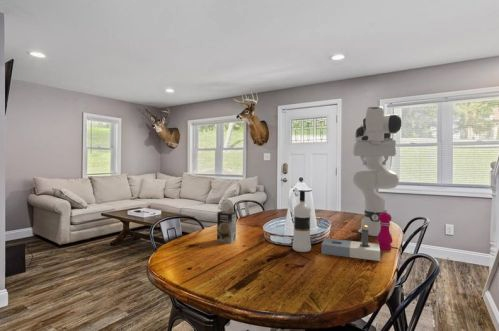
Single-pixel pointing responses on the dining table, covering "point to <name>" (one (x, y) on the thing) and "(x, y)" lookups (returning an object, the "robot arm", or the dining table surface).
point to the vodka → (302, 226)
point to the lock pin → (364, 235)
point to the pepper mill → (384, 231)
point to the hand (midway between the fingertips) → (374, 165)
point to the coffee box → (226, 226)
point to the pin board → (350, 249)
